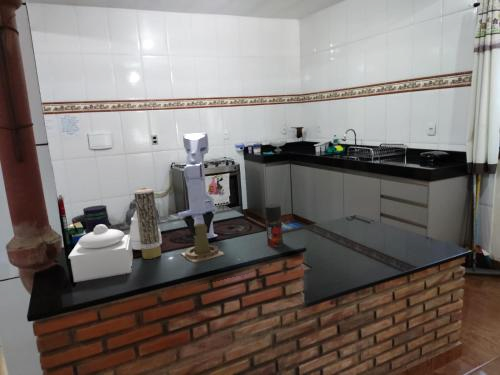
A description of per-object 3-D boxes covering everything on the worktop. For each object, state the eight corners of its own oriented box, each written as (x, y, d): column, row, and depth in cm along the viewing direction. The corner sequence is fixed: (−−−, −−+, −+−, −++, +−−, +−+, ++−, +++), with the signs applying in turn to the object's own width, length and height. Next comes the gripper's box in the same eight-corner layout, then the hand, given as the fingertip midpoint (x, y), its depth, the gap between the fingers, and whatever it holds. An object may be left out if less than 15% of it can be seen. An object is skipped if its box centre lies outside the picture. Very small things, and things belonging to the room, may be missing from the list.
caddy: (180, 254, 135) (180, 250, 135) (209, 246, 141) (209, 242, 141) (194, 263, 125) (193, 258, 125) (224, 254, 131) (224, 249, 131)
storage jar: (91, 244, 157) (86, 211, 155) (84, 240, 164) (79, 208, 162) (114, 239, 163) (110, 206, 161) (106, 235, 171) (102, 204, 168)
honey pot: (168, 242, 151) (163, 200, 149) (140, 251, 142) (134, 207, 139) (151, 238, 160) (146, 198, 157) (124, 246, 151) (118, 204, 148)
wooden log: (164, 253, 137) (157, 188, 134) (154, 260, 131) (146, 192, 127) (149, 253, 140) (141, 189, 136) (138, 259, 133) (130, 192, 130)
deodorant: (265, 246, 137) (262, 207, 135) (270, 241, 142) (267, 204, 140) (280, 247, 135) (277, 207, 132) (285, 242, 140) (282, 204, 138)
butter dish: (131, 273, 121) (124, 227, 118) (72, 283, 116) (64, 235, 114) (133, 256, 138) (127, 215, 135) (81, 264, 133) (75, 222, 130)
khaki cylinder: (207, 256, 129) (204, 226, 128) (191, 256, 131) (188, 226, 129) (212, 250, 135) (210, 222, 133) (197, 250, 137) (194, 222, 135)
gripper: (181, 202, 123) (186, 241, 125) (219, 195, 130) (222, 232, 133) (174, 199, 129) (178, 236, 131) (210, 193, 136) (214, 228, 138)
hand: (200, 234), depth 132 cm, fingers closed on khaki cylinder, 5 cm apart
